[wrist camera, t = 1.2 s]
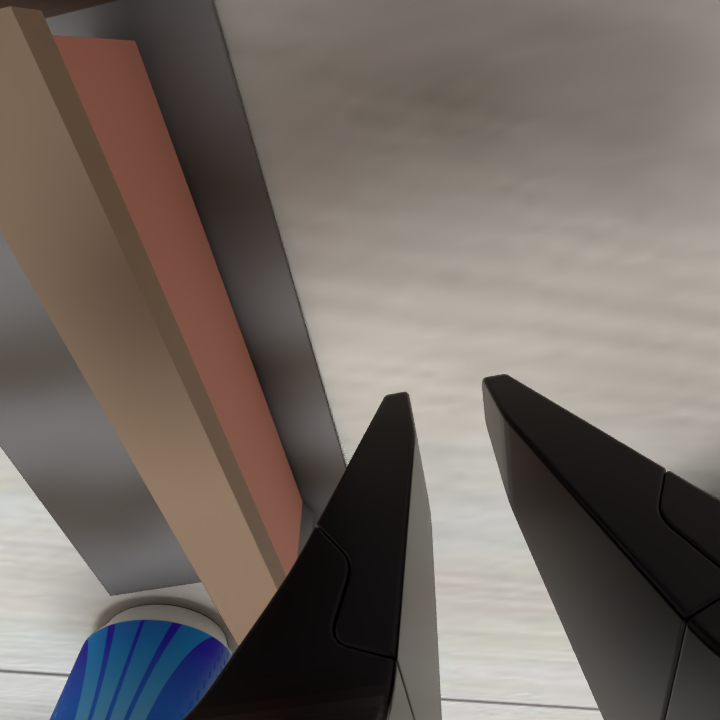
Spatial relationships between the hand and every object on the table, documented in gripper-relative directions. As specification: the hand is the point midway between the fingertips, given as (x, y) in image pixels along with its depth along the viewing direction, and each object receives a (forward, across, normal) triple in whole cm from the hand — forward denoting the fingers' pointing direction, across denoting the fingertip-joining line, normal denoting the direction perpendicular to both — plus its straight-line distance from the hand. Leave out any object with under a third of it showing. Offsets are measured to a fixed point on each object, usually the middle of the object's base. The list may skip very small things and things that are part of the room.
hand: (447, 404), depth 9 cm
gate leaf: (+9, +7, +3) cm, 12 cm away
